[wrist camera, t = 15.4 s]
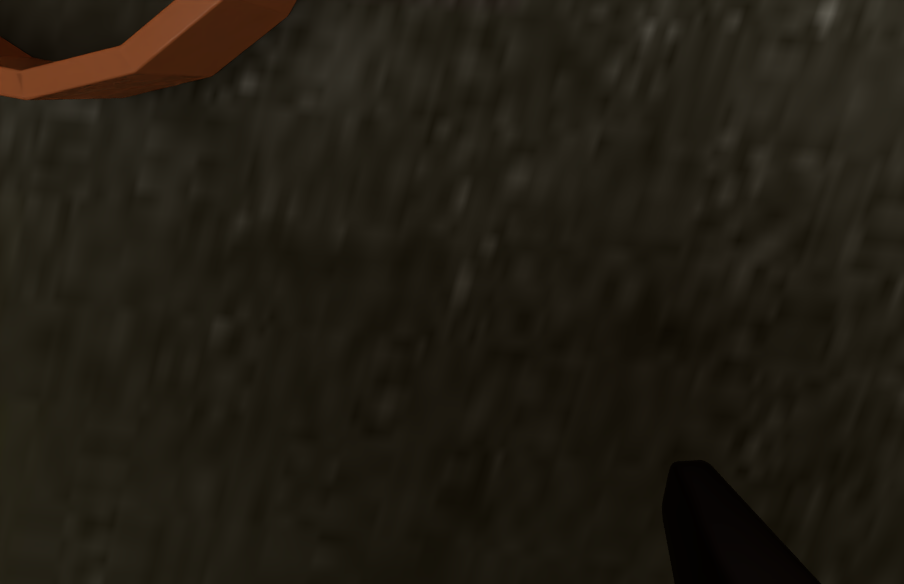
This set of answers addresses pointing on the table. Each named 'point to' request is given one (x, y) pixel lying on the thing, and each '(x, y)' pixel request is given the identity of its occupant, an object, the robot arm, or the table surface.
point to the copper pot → (147, 53)
